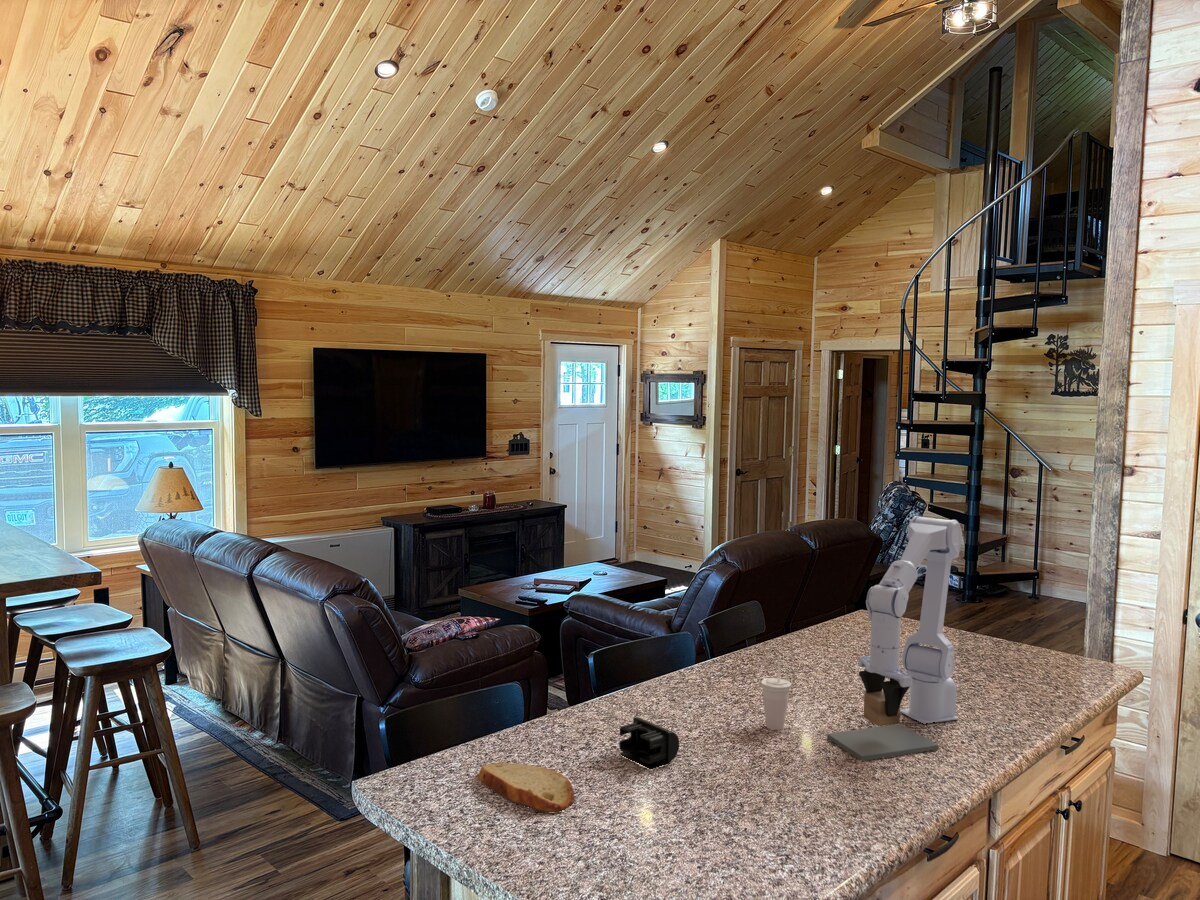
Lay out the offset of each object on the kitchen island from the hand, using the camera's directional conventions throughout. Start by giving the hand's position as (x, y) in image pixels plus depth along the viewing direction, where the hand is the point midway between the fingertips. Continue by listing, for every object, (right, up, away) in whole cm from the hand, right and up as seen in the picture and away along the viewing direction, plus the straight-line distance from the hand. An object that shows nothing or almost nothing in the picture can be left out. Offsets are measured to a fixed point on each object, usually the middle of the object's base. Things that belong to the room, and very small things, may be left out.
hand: (882, 710), depth 183 cm
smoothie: (-20, -6, +9) cm, 23 cm away
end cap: (-48, -7, -8) cm, 49 cm away
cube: (0, -2, 0) cm, 2 cm away
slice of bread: (-71, -8, -22) cm, 75 cm away
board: (0, -7, 0) cm, 7 cm away
